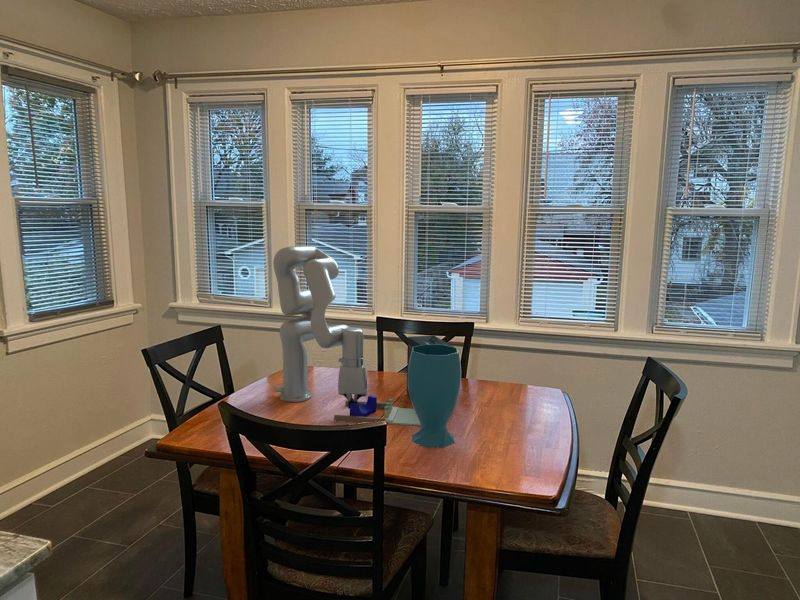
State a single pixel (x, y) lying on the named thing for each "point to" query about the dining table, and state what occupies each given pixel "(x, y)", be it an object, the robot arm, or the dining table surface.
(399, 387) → the dining table surface
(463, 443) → the dining table surface
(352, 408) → the cable clip
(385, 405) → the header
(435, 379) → the vase
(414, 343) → the headset box
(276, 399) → the dining table surface
